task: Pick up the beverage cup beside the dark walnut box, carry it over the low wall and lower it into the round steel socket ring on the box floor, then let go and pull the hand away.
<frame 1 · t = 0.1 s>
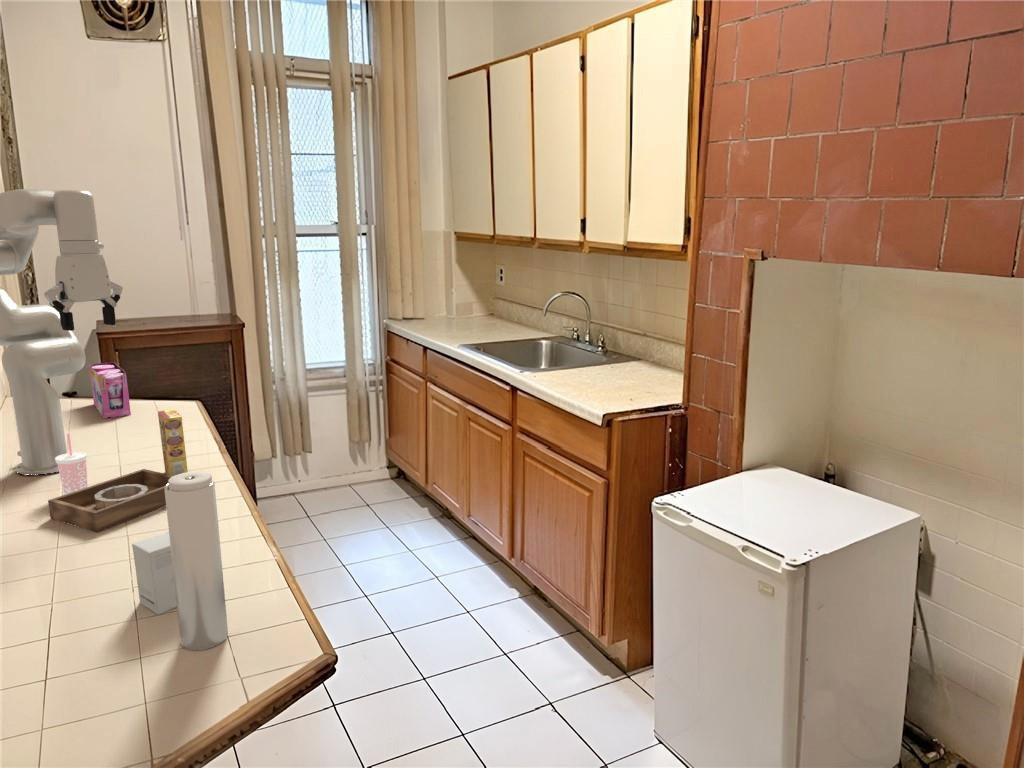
hand: (89, 327, 166), 37 cm above the table, tool pointing down, fingers open, 9 cm apart
skincare box: (179, 597, 122), on the table
white tall cylinder: (204, 639, 110), on the table
beverage cup: (76, 495, 167), on the table
socket ring: (122, 497, 159), in the walnut box, point 2 cm above the table
walnut box: (123, 507, 160), on the table
gum box: (112, 410, 241), on the table
candy box: (176, 476, 179), on the table
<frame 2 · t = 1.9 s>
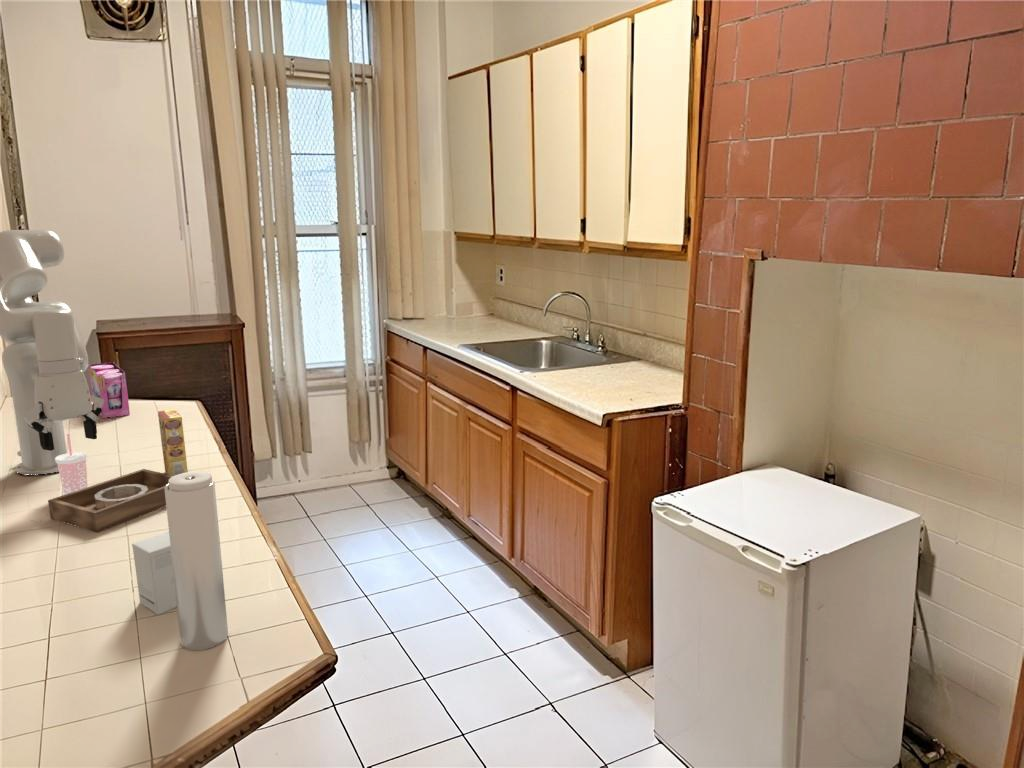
hand: (70, 443, 164), 12 cm above the table, tool pointing down, fingers open, 9 cm apart
nothing on the table moved.
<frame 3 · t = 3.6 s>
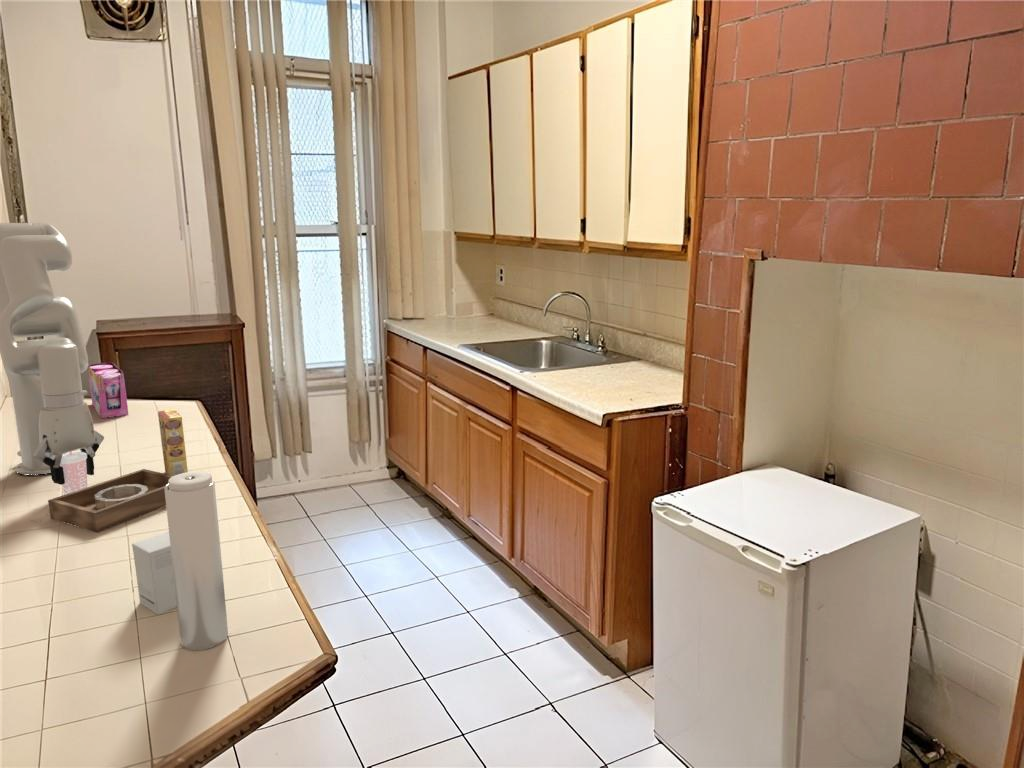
hand: (74, 477, 166), 4 cm above the table, tool pointing down, fingers closed on beverage cup, 6 cm apart
beverage cup: (76, 495, 167), on the table, touching gripper
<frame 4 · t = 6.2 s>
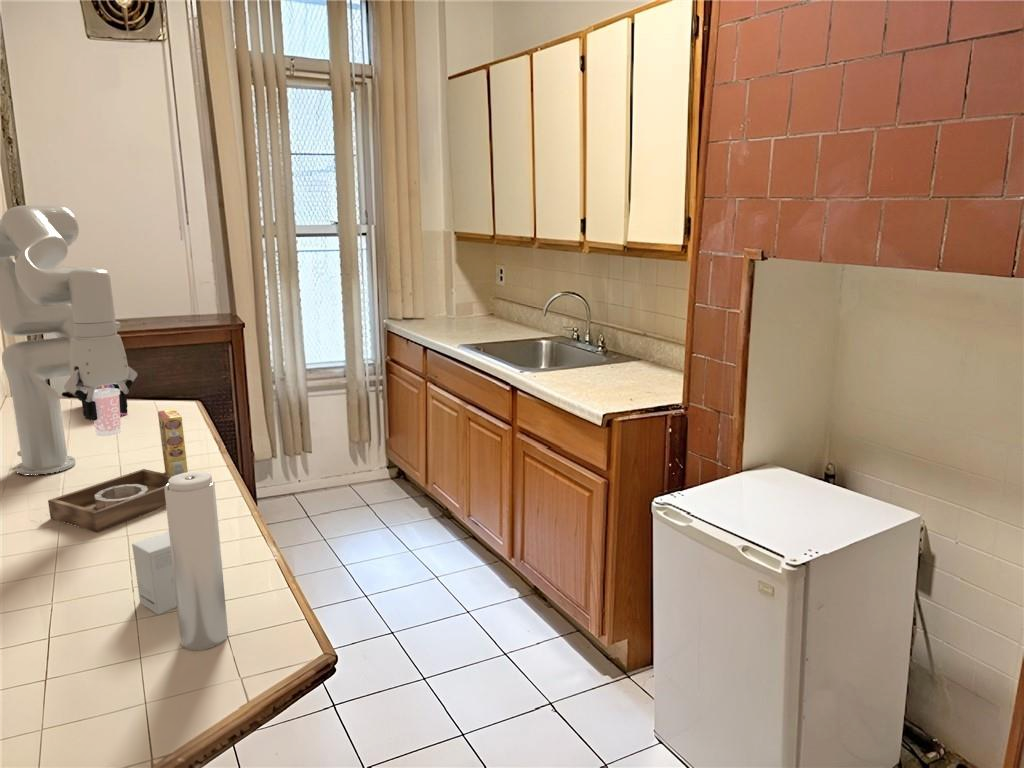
hand: (106, 415, 156), 20 cm above the table, tool pointing down, fingers closed on beverage cup, 6 cm apart
beverage cup: (108, 433, 157), point 16 cm above the table, touching gripper
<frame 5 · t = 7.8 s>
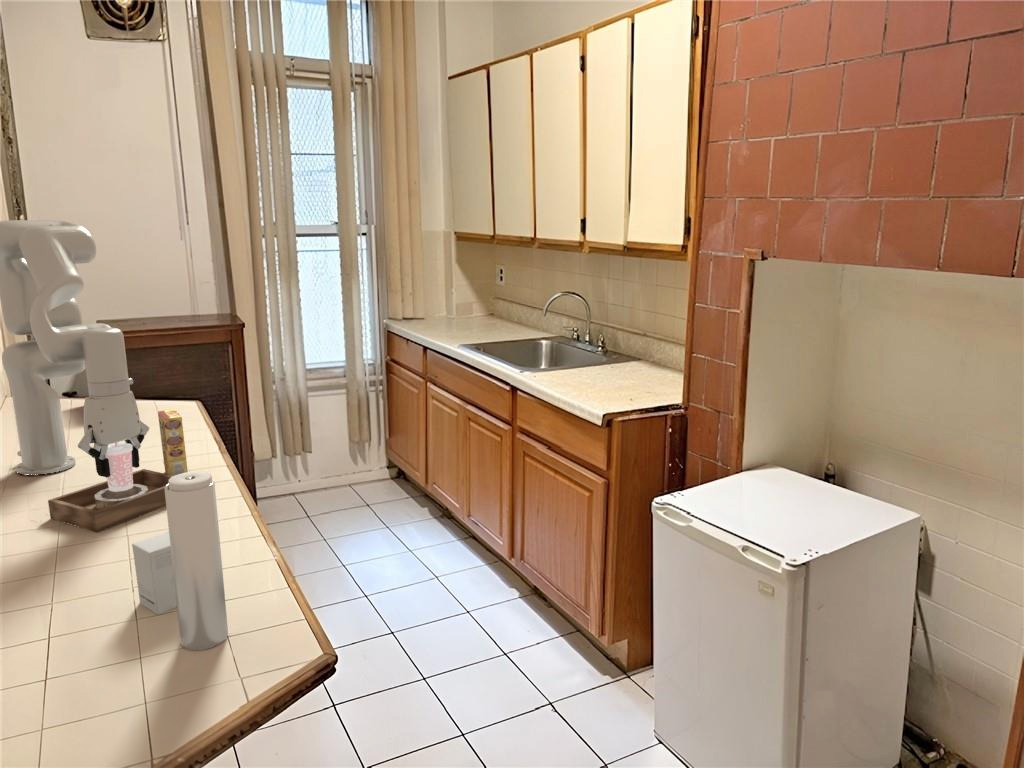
hand: (119, 470, 158), 8 cm above the table, tool pointing down, fingers closed on beverage cup, 6 cm apart
beverage cup: (121, 488, 159), point 4 cm above the table, touching gripper
when the fingers open (5 cm above the table, at t = 9.2 s): beverage cup stays where it is, resting on walnut box.
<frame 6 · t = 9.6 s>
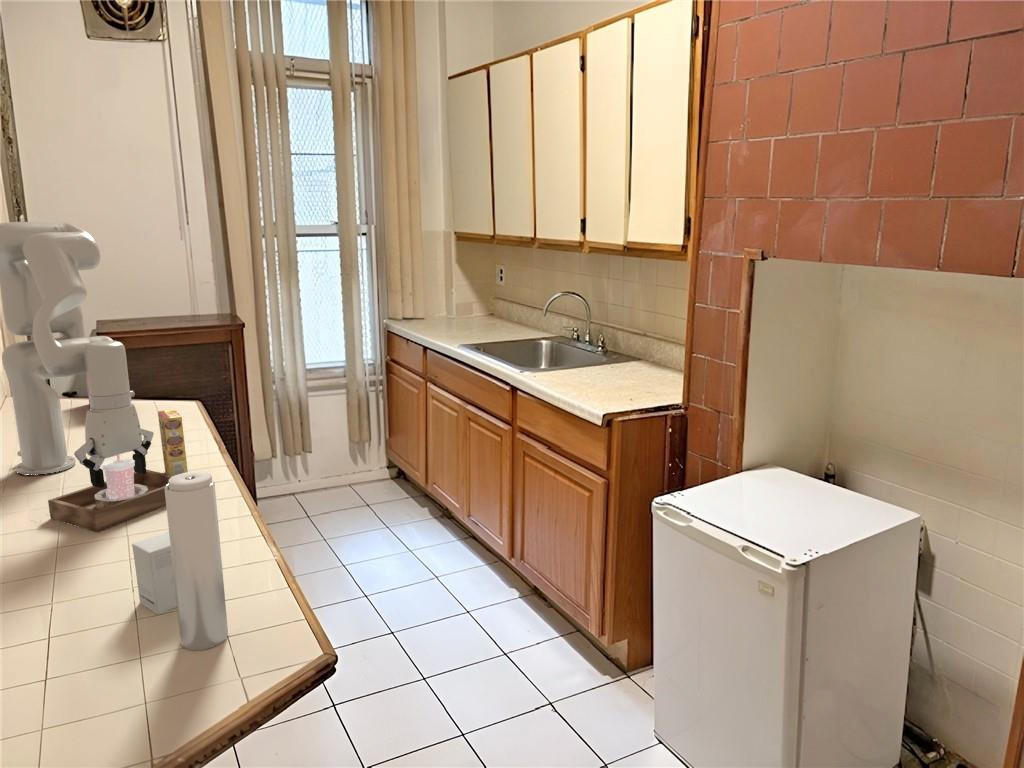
hand: (120, 479, 158), 6 cm above the table, tool pointing down, fingers open, 9 cm apart
beverage cup: (122, 503, 160), point 1 cm above the table, touching walnut box
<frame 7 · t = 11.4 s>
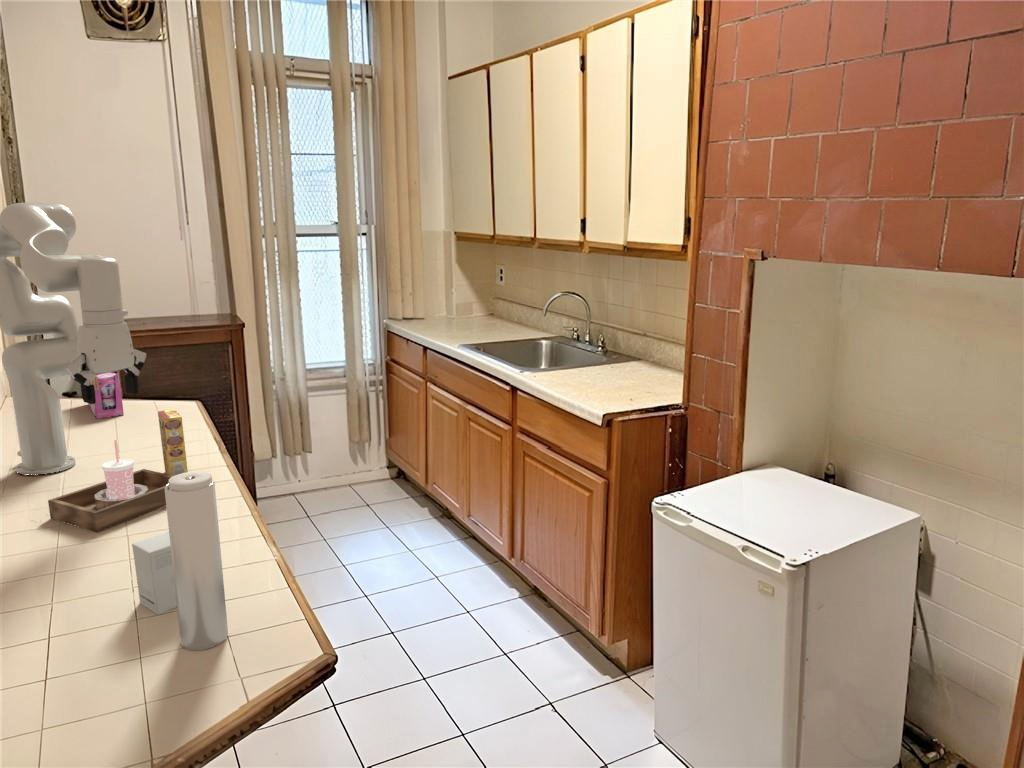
hand: (111, 397, 159), 23 cm above the table, tool pointing down, fingers open, 9 cm apart
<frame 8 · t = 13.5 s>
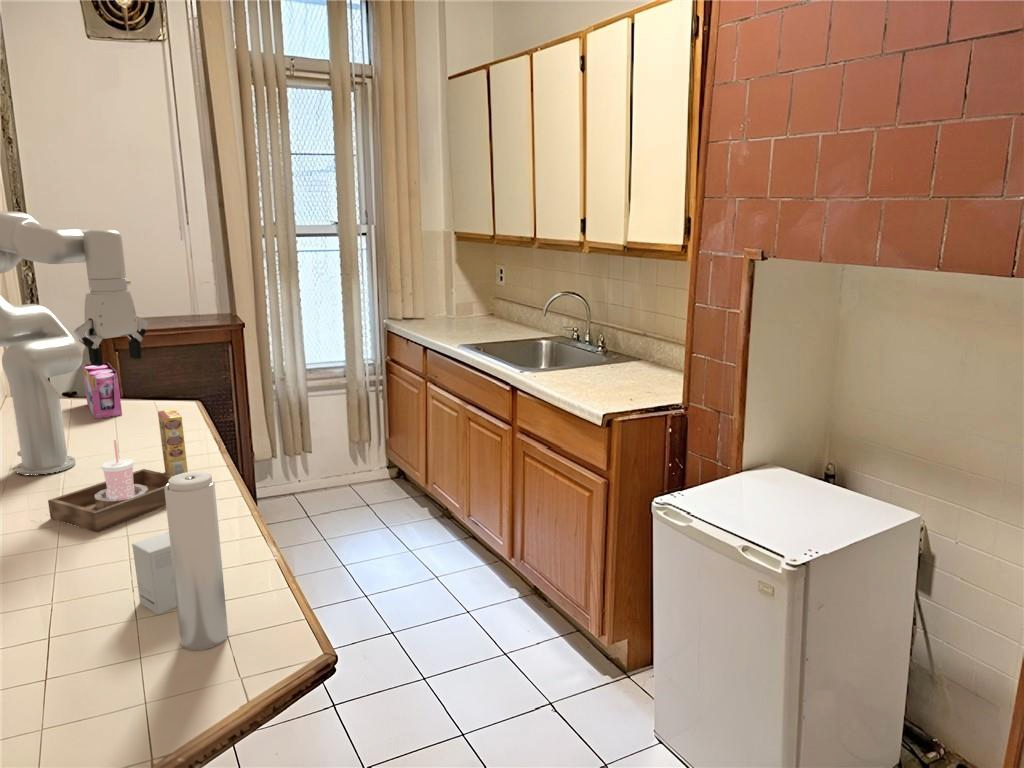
hand: (116, 361, 170), 28 cm above the table, tool pointing down, fingers open, 9 cm apart
at the end: beverage cup 0.2 cm off-centre on the socket ring, point 0.6 cm above the socket ring's base; beverage cup tilted 0°; the gripper is holding nothing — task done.
